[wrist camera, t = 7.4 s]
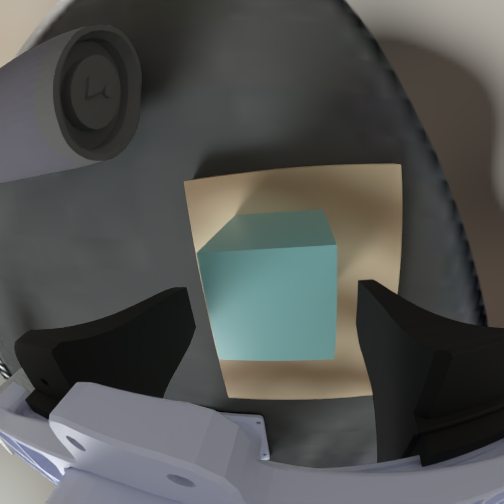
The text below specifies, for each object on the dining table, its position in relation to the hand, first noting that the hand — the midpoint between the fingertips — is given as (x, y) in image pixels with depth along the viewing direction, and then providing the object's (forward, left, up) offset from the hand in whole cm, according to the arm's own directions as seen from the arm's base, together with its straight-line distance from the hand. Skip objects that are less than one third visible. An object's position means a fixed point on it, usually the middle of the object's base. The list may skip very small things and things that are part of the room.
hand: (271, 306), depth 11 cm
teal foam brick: (0, 0, -6) cm, 6 cm away
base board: (-4, -1, -8) cm, 9 cm away
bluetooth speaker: (+13, +19, -8) cm, 24 cm away
